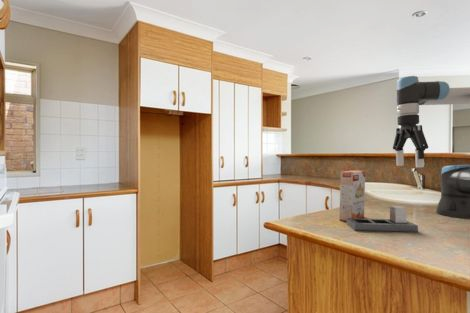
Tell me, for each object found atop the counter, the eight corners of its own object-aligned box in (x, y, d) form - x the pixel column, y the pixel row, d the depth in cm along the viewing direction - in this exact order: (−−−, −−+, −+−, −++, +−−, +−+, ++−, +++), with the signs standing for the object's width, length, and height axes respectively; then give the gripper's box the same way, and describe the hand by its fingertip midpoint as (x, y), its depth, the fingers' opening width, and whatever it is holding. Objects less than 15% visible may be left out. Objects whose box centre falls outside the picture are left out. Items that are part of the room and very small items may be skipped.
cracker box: (353, 223, 111) (353, 172, 110) (338, 220, 115) (339, 171, 115) (365, 217, 121) (365, 170, 120) (351, 215, 125) (352, 169, 125)
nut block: (400, 226, 104) (400, 205, 104) (406, 229, 100) (406, 207, 100) (389, 226, 105) (390, 205, 105) (395, 229, 101) (395, 207, 101)
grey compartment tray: (404, 225, 107) (404, 219, 107) (417, 232, 98) (417, 225, 98) (346, 224, 108) (346, 218, 108) (354, 230, 100) (354, 223, 99)
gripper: (383, 119, 124) (384, 165, 124) (417, 110, 99) (419, 168, 99) (400, 118, 124) (401, 164, 124) (438, 110, 99) (440, 167, 99)
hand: (409, 166), depth 112 cm, fingers open, 13 cm apart
